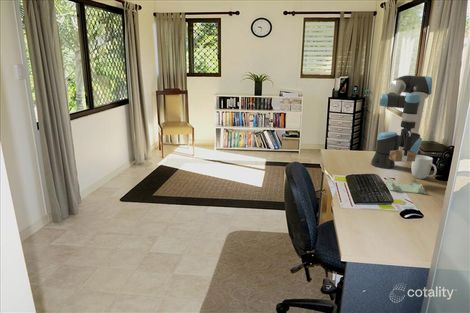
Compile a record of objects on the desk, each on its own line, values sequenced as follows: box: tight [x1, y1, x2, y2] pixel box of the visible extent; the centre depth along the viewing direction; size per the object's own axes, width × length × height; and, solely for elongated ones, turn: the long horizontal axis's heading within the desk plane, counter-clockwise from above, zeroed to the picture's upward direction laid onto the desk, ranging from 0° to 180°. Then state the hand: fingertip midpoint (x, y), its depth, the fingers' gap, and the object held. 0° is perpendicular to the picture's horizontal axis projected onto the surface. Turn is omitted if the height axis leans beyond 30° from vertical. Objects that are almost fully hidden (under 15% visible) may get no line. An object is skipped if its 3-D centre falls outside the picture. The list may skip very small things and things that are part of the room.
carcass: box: [384, 175, 427, 195], centre depth 199 cm, size 13×19×5 cm
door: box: [389, 150, 417, 163], centre depth 208 cm, size 6×13×6 cm, turn 101°
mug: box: [411, 154, 438, 180], centre depth 218 cm, size 15×11×13 cm
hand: (401, 159), depth 208 cm, fingers closed on door, 8 cm apart
